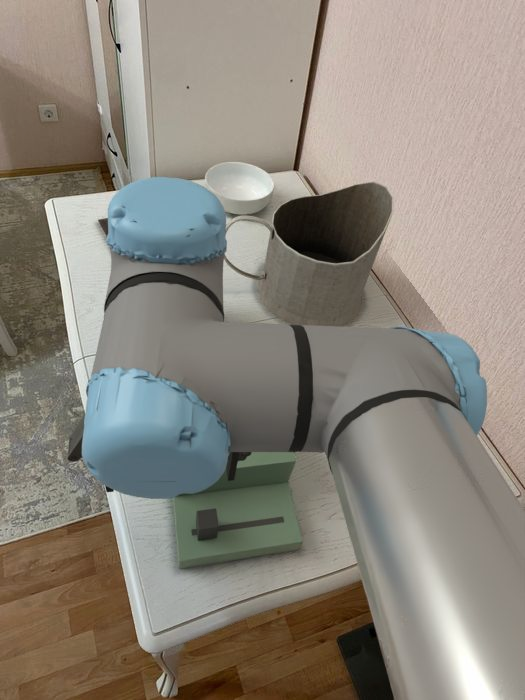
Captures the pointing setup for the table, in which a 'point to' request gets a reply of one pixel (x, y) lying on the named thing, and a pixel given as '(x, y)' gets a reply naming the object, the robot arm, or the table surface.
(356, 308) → the pitcher
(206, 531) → the slider knob
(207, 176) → the cereal bowl
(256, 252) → the table surface
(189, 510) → the toaster
